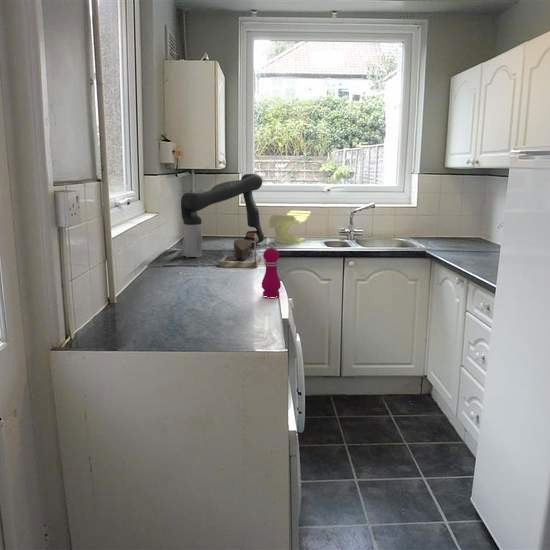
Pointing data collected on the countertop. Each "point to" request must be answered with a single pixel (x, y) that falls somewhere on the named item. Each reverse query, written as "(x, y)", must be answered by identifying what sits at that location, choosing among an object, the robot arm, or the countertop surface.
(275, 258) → the pepper mill
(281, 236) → the slatted curved stool
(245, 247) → the rock
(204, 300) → the countertop surface
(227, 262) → the corral
